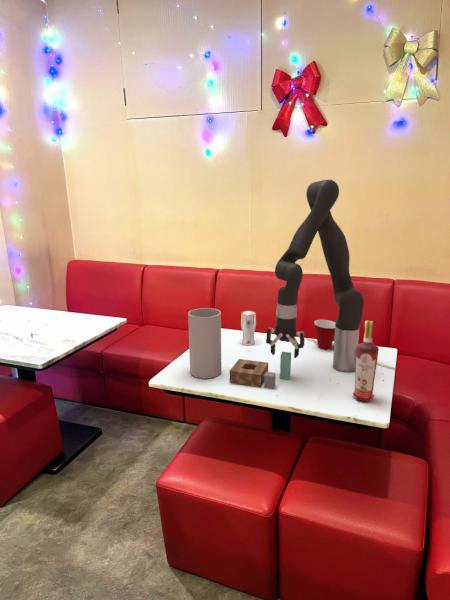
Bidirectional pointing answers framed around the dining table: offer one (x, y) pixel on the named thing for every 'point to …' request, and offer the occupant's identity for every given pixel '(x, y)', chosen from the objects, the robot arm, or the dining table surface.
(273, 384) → the short pin
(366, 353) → the liquor
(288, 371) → the long pin
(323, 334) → the plastic cup
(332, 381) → the dining table surface
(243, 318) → the beer glass
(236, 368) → the socket block
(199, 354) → the cylinder vase
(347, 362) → the robot arm
